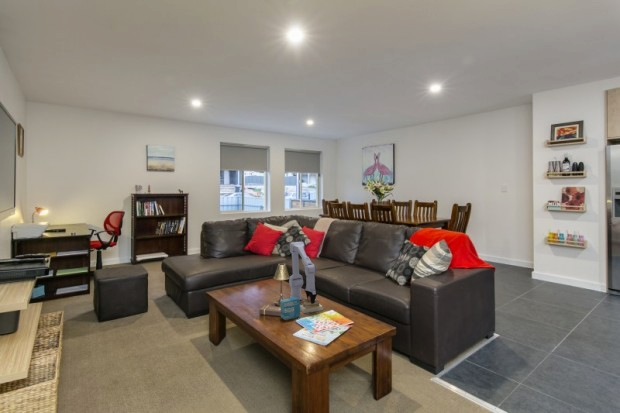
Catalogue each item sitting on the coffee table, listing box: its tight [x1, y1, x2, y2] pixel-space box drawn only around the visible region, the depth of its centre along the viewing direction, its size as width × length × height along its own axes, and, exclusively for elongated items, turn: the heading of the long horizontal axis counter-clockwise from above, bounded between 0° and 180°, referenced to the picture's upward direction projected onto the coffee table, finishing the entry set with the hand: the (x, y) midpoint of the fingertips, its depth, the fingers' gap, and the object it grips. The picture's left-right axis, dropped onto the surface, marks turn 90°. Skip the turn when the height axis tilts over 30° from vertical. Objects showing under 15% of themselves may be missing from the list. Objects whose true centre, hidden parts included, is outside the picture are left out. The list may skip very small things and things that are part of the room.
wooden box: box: [302, 297, 320, 308], centre depth 217 cm, size 6×10×4 cm, turn 109°
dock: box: [300, 303, 324, 314], centre depth 217 cm, size 9×14×3 cm, turn 109°
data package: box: [280, 297, 301, 321], centre depth 204 cm, size 12×4×12 cm, turn 117°
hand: (311, 301), depth 217 cm, fingers open, 7 cm apart
